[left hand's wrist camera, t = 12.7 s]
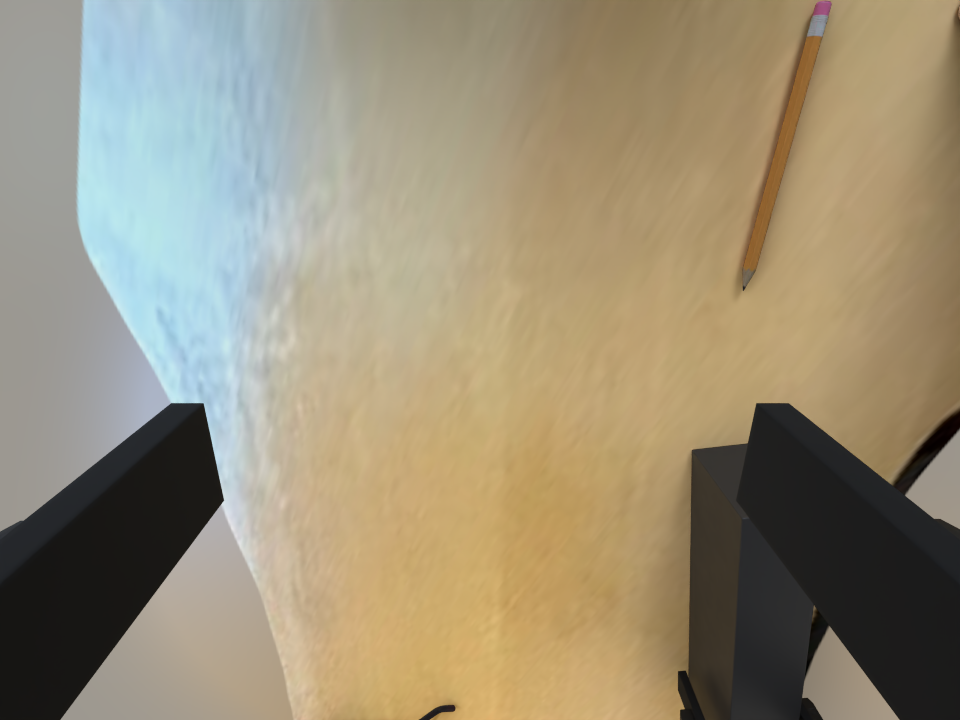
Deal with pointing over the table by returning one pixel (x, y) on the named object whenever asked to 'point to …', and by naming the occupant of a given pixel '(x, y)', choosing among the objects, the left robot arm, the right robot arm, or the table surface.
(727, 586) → the bar
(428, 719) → the eyeglasses
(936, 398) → the table surface
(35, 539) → the left robot arm
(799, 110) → the pencil
